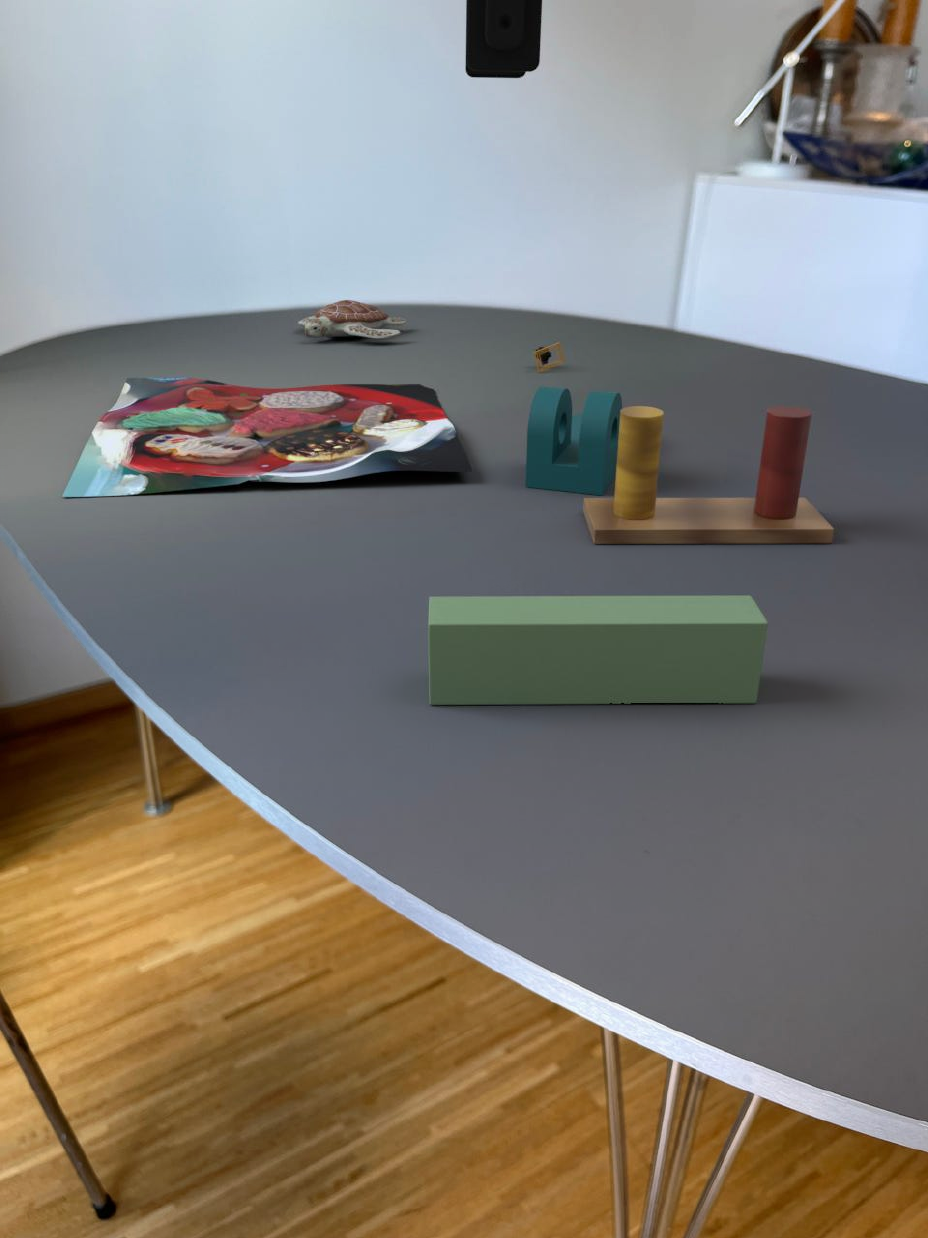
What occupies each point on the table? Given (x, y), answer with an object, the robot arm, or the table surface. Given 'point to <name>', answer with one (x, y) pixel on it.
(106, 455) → the printed food placemat
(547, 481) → the bracket
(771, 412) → the rods
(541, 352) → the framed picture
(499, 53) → the robot arm
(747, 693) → the bar
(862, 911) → the table surface
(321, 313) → the decorative turtle
